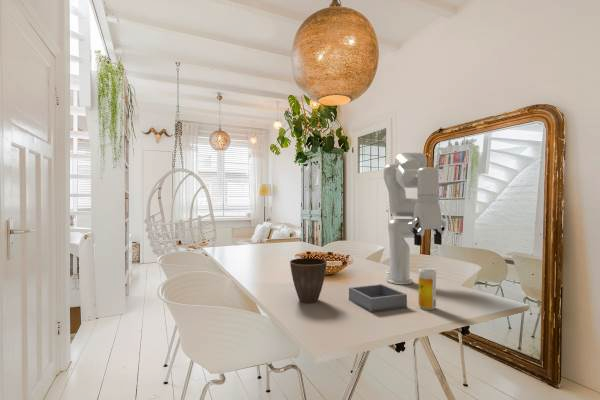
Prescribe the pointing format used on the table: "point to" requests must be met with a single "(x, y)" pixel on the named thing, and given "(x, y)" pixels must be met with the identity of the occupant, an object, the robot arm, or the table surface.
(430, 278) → the beer can
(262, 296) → the table surface
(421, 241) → the robot arm
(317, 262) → the plant pot
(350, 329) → the table surface
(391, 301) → the box
